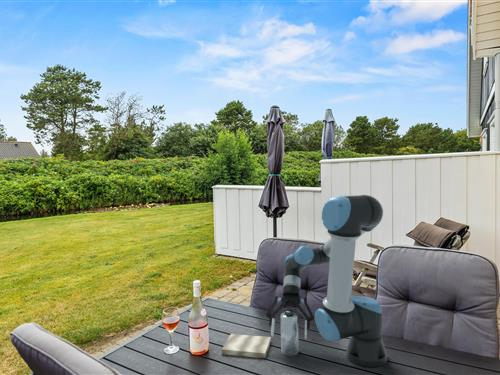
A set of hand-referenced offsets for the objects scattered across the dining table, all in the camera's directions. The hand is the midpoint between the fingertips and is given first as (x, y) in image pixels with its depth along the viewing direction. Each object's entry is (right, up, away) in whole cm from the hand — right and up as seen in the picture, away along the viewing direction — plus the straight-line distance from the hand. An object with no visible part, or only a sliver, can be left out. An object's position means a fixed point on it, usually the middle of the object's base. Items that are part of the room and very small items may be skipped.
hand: (288, 336), depth 138 cm
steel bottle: (+1, -7, +2) cm, 7 cm away
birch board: (-17, -7, +6) cm, 19 cm away
